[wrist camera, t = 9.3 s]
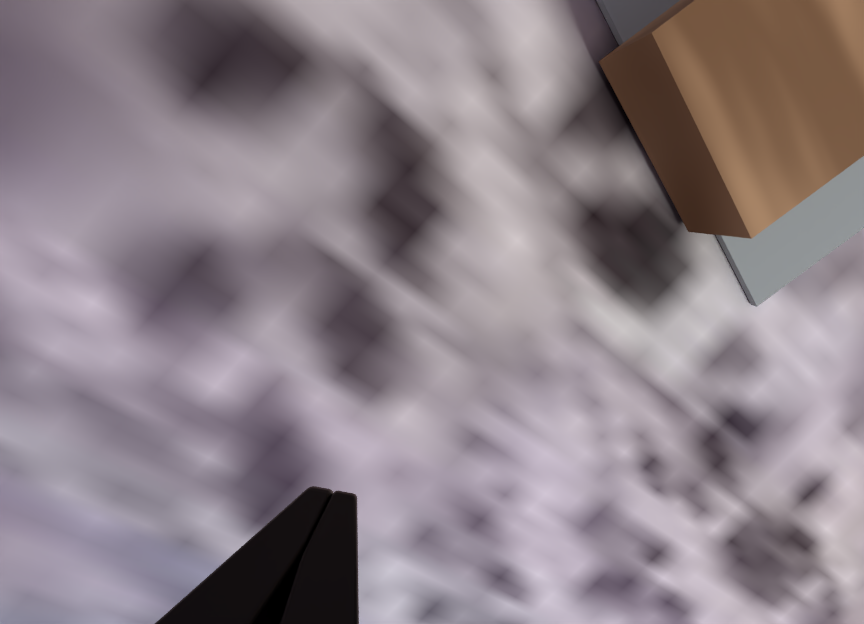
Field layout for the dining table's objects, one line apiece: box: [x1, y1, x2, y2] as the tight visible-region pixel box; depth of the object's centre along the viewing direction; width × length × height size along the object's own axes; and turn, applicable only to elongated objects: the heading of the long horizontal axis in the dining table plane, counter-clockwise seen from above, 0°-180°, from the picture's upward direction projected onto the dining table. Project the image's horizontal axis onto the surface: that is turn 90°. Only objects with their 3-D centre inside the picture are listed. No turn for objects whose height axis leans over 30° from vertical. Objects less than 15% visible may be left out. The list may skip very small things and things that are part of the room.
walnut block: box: [599, 0, 864, 239], centre depth 16 cm, size 3×7×10 cm
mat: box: [596, 0, 864, 306], centre depth 17 cm, size 14×16×1 cm
